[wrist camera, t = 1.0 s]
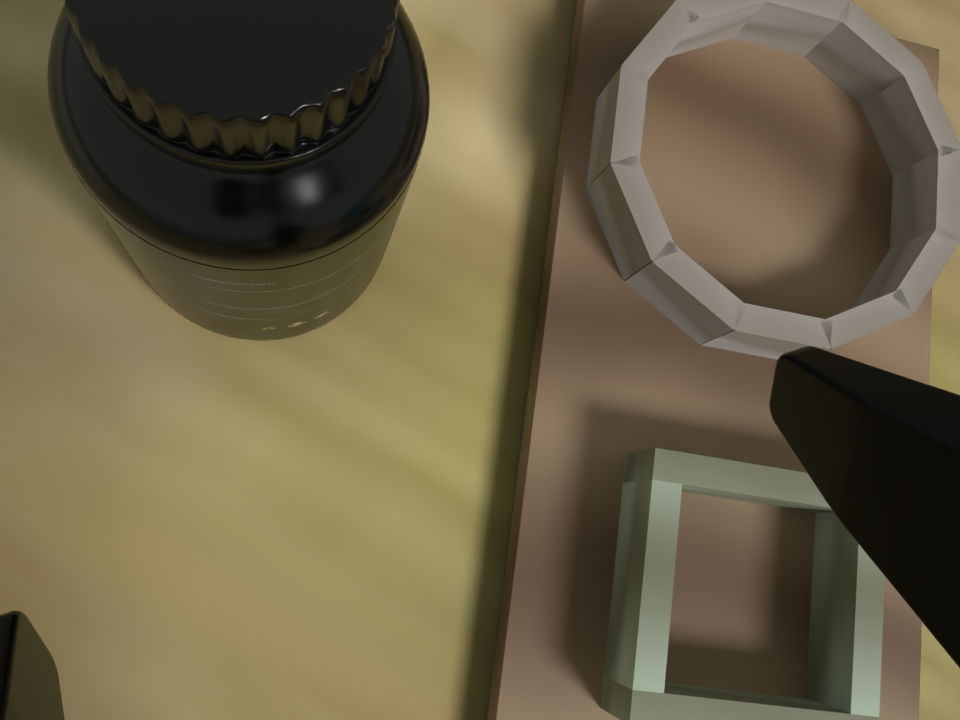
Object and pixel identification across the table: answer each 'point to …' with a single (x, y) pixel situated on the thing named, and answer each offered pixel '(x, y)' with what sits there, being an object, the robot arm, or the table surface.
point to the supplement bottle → (244, 146)
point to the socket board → (718, 363)
